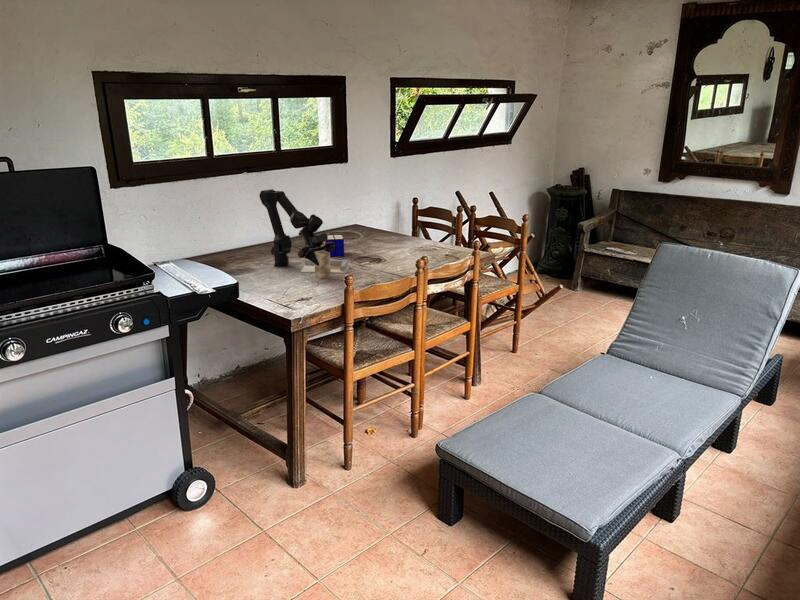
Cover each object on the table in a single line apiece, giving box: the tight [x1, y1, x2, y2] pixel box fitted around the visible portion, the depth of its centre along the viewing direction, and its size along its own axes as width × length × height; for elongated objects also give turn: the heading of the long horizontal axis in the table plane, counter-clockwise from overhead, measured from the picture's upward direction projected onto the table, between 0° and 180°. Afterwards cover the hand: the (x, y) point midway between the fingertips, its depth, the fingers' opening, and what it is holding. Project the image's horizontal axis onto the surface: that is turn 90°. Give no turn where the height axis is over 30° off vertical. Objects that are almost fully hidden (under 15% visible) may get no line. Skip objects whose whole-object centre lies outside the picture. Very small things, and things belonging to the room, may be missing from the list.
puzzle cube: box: [323, 234, 345, 258], centre depth 333 cm, size 10×10×10 cm
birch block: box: [314, 251, 332, 280], centre depth 291 cm, size 6×4×12 cm
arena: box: [299, 259, 351, 274], centre depth 306 cm, size 23×14×3 cm, turn 87°
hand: (324, 264), depth 290 cm, fingers closed on birch block, 6 cm apart
